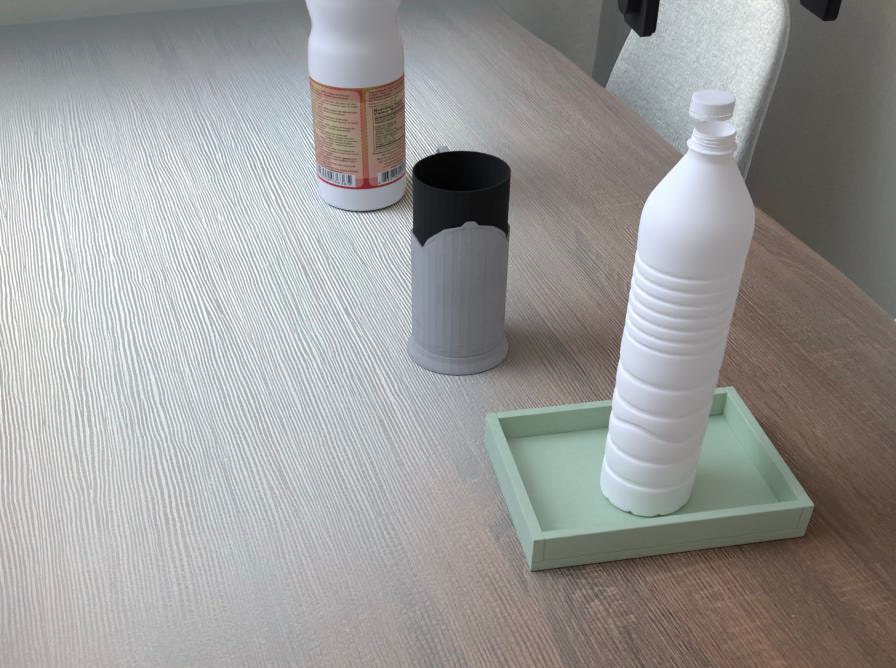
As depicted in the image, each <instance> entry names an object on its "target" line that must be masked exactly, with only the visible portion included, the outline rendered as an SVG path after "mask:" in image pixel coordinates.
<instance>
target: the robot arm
mask: <svg viewBox="0 0 896 668" xmlns="http://www.w3.org/2000/svg"><path fill="white" fill-rule="evenodd" d="M842 1H843V0H799V4H800V5H801V6H802V7H803V8H805V9H806V10H808V11H809V12H810V13H811V14H813V15H815V16H816V17H817V18H818V19H820V21H822V22H835V21H836V20H837V19H838V17H839V13H840V9H841V5H842ZM660 2H661V0H617V7H618V11H619V13H620V14H622V15H623V20H624V22H625V24H627V25H628V26H629V27H630V29H631V30H632V31H633V32H634V33H635V34H636V35H637V36H638V37H639V38H648V37H650V38H651V37H652V35H653V34H655V33H656V31H657V25H658V18H659V11H660V5H661V4H660Z"/></svg>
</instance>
